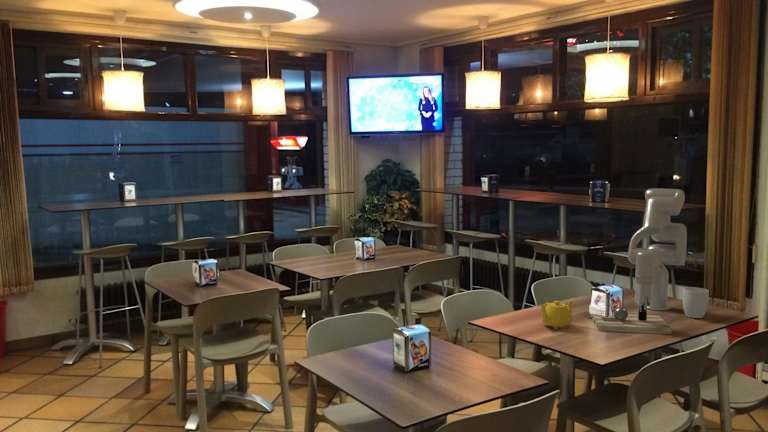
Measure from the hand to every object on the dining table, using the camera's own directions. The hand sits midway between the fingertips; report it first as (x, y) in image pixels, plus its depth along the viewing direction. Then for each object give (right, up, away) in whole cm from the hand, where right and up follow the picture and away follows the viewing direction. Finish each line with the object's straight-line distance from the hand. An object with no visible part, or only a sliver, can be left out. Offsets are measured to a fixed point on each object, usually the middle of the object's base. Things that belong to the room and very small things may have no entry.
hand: (642, 320), depth 290 cm
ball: (-9, +3, +1) cm, 10 cm away
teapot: (-38, -3, +2) cm, 38 cm away
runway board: (-5, -3, +2) cm, 6 cm away
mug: (+32, -1, +18) cm, 36 cm away
